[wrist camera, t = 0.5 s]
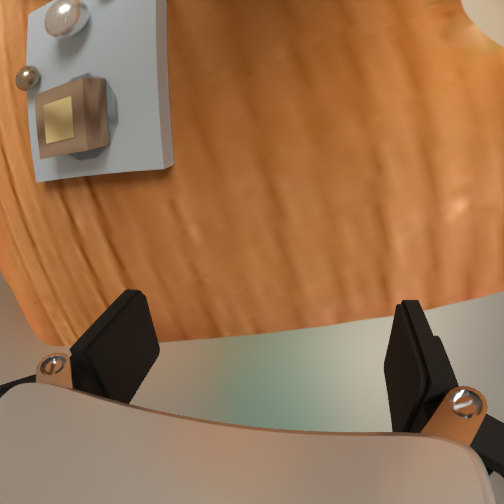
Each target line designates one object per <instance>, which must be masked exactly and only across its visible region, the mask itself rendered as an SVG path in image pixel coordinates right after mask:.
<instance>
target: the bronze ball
mask: <svg viewBox="0 0 504 504" xmlns="http://www.w3.org/2000/svg"><path fill="white" fill-rule="evenodd" d="M39 78H40V73H39V70H38V69H37V68H36V67H35V66H31V65H29V66H25V67H23V68H22V69H21V70H20V71H19V72H18V74H17V76H16V85H17V87H18V88H19V89H20V90H23V91H28V90H31V89H33V88H34V87H35V86H36V85H37V83H38V81H39Z"/></svg>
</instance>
